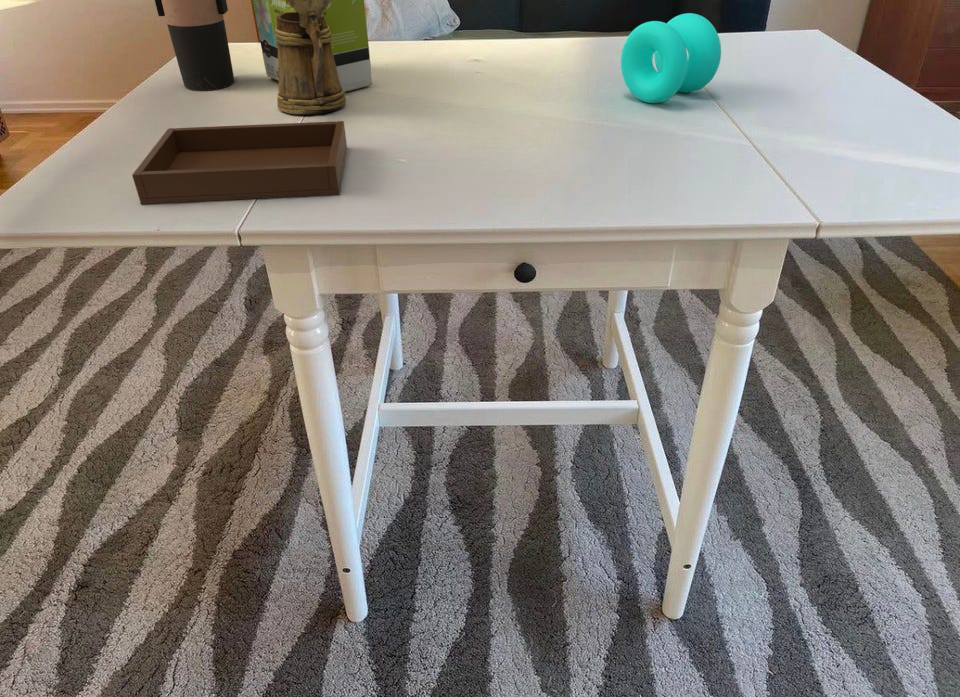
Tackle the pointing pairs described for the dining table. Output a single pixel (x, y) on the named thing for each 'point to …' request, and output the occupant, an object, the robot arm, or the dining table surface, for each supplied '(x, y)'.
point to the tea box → (346, 44)
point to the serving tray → (243, 163)
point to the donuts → (670, 57)
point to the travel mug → (199, 43)
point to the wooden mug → (306, 61)
